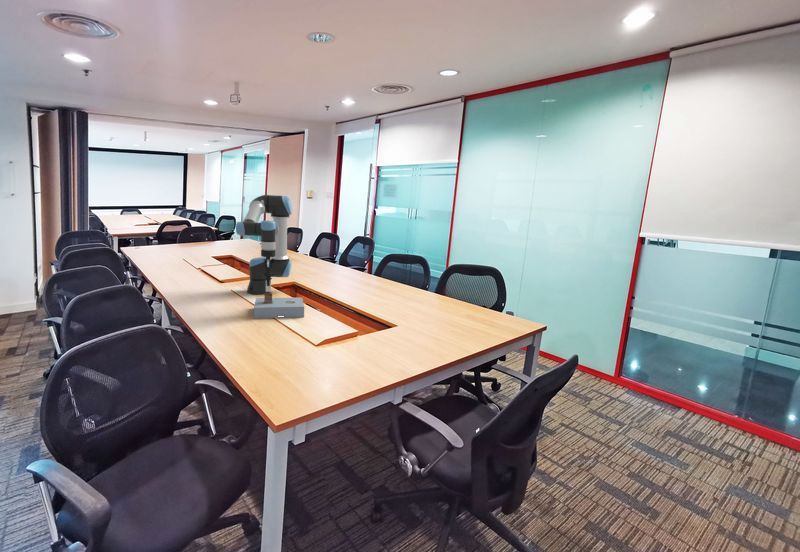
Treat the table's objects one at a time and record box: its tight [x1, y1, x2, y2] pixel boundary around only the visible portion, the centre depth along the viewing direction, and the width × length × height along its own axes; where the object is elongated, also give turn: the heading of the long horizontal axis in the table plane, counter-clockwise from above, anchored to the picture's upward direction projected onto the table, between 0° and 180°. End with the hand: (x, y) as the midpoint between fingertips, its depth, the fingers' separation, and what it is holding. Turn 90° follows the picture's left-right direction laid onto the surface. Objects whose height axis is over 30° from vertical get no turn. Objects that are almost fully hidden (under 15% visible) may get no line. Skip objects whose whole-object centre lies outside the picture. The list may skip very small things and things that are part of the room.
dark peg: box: [263, 292, 273, 304], centre depth 222 cm, size 4×4×6 cm
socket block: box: [253, 296, 305, 319], centre depth 224 cm, size 20×26×6 cm
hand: (268, 291), depth 221 cm, fingers closed
